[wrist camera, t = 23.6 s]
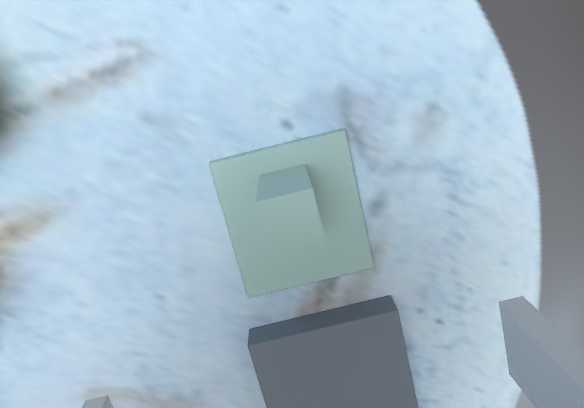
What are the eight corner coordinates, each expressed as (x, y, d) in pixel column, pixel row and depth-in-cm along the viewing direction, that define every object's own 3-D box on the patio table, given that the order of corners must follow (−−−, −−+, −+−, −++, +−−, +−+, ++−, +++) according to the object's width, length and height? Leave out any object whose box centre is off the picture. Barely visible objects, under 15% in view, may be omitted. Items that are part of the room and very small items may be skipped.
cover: (248, 290, 47) (241, 352, 36) (210, 160, 43) (191, 188, 33) (371, 261, 46) (398, 315, 36) (342, 128, 43) (363, 145, 33)
